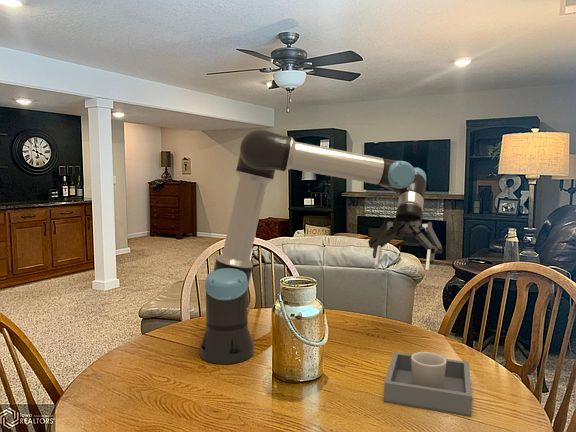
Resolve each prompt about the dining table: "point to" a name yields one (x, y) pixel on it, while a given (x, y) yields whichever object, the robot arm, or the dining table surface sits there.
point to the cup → (428, 369)
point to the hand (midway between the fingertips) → (401, 269)
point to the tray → (447, 399)
